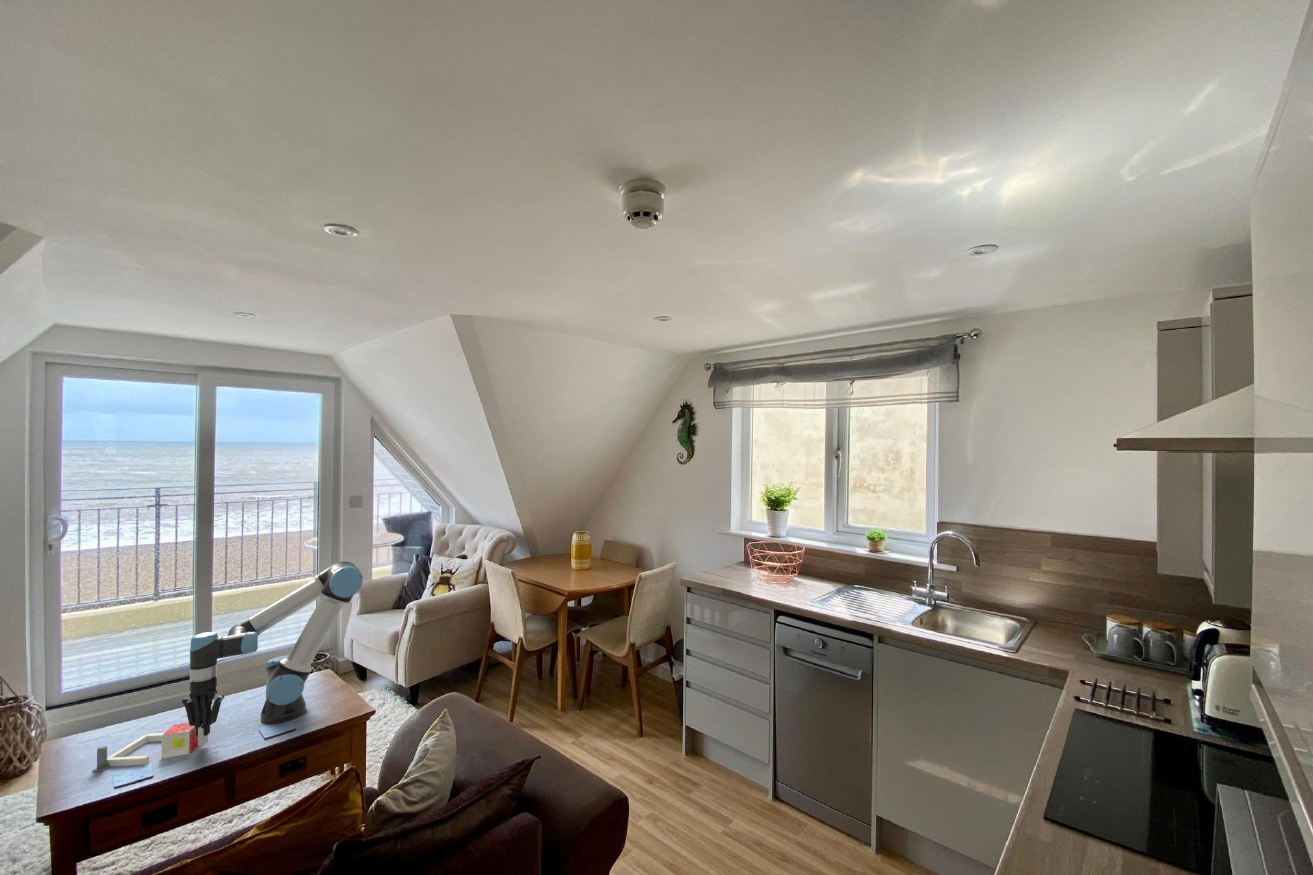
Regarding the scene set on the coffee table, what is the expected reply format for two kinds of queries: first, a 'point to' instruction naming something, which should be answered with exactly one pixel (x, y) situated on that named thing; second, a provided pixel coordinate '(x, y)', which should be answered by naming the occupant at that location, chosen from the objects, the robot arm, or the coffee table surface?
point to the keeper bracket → (119, 758)
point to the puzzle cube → (179, 740)
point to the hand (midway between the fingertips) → (202, 744)
